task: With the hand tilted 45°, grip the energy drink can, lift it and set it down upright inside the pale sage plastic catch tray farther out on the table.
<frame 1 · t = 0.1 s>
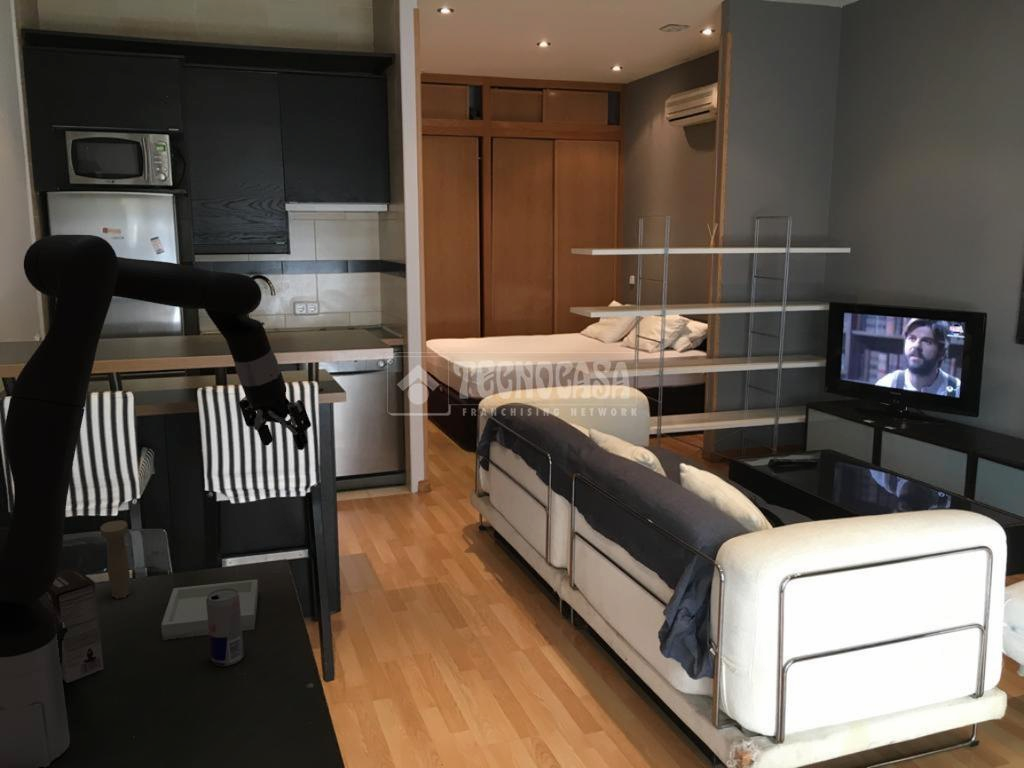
hand: (285, 445, 164), 31 cm above the table, tool tilted 20°, fingers open, 8 cm apart
catch tray: (213, 615, 161), on the table
handle: (121, 596, 170), on the table
coffee box: (76, 668, 143), on the table
energy drink: (227, 660, 145), on the table
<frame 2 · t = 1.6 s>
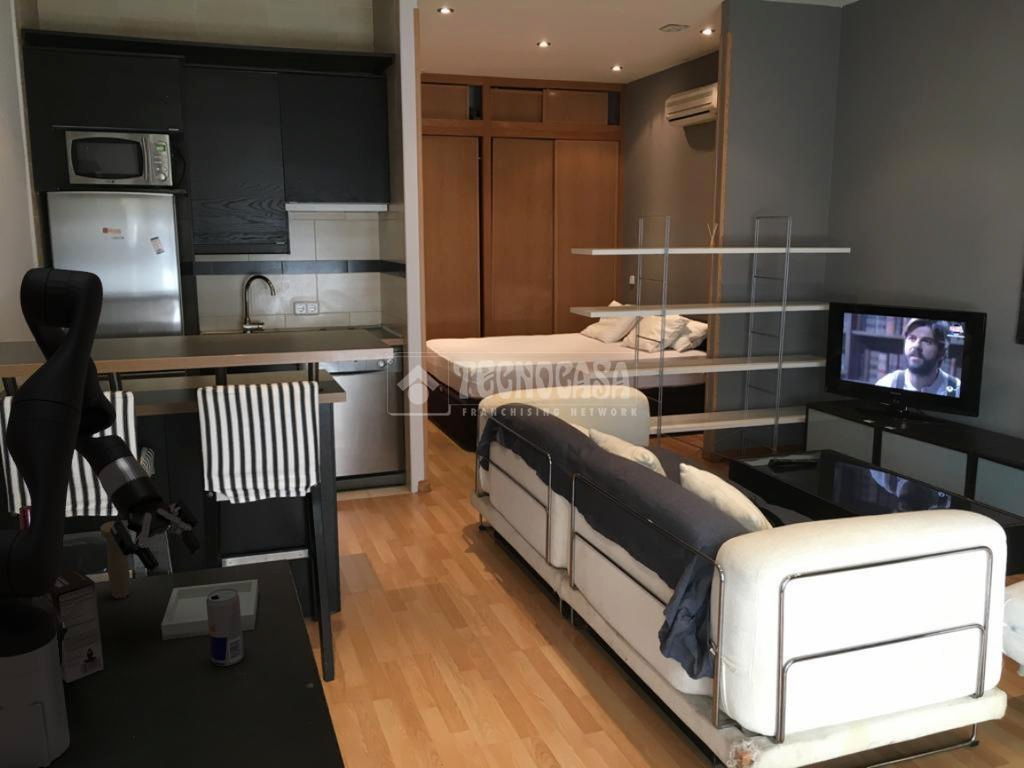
hand: (176, 559, 148), 16 cm above the table, tool tilted 45°, fingers open, 8 cm apart
nothing on the table moved.
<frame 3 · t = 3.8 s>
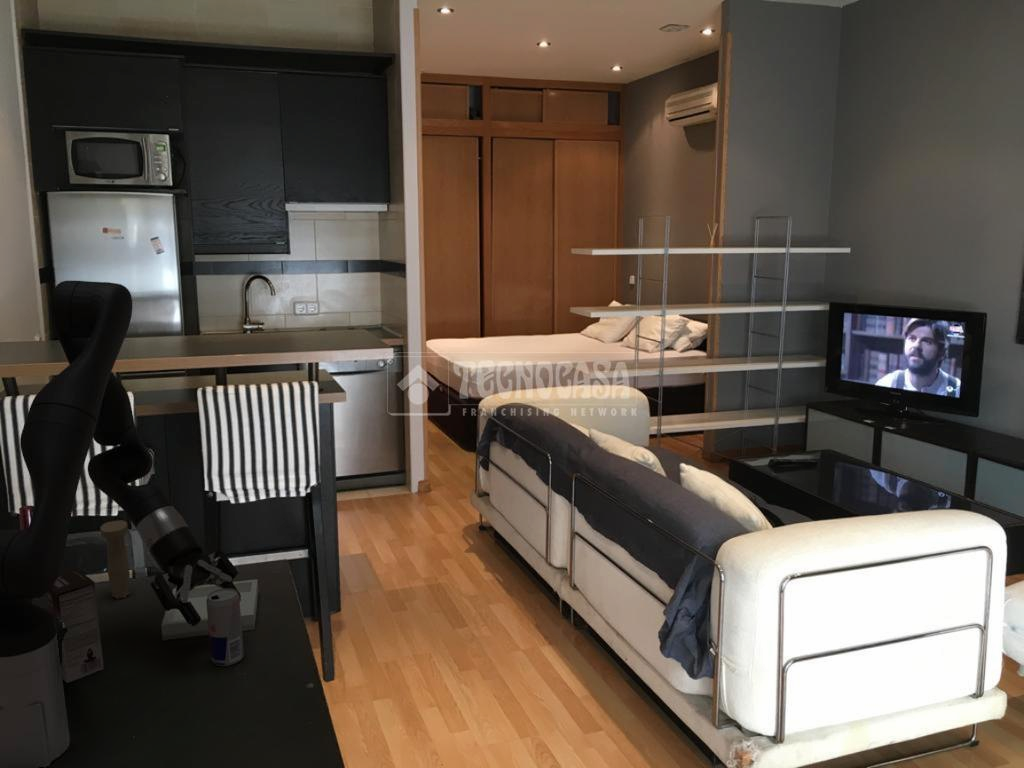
hand: (218, 613, 145), 8 cm above the table, tool tilted 45°, fingers open, 8 cm apart
nothing on the table moved.
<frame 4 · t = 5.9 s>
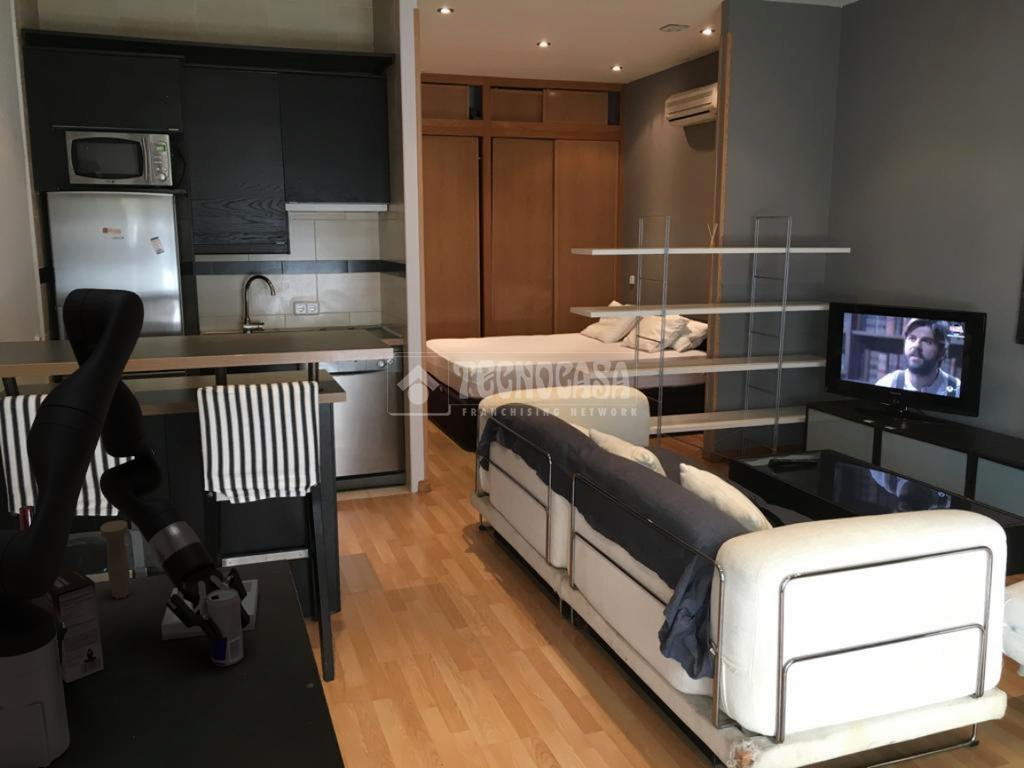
hand: (232, 632, 143), 5 cm above the table, tool tilted 45°, fingers closed on energy drink, 5 cm apart
energy drink: (227, 660, 145), on the table, touching gripper
everything else where it was.
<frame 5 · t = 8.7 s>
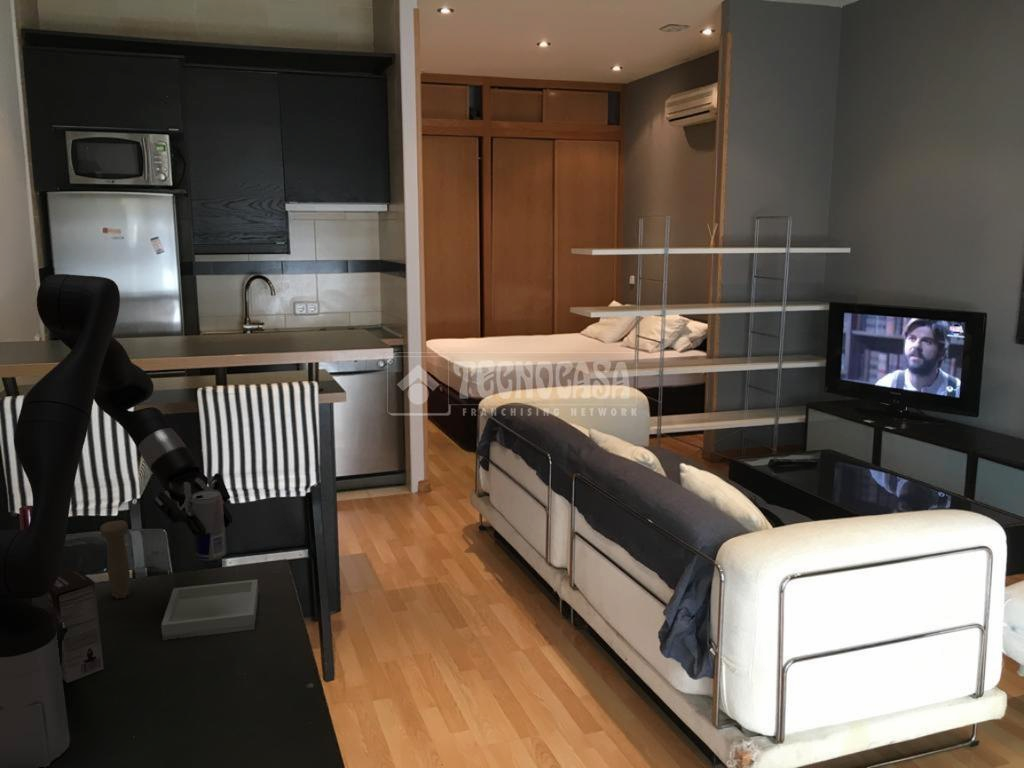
hand: (215, 529, 154), 19 cm above the table, tool tilted 45°, fingers closed on energy drink, 5 cm apart
energy drink: (211, 556, 157), point 13 cm above the table, touching gripper
everything else where it was.
when the fingers open (8 cm above the table, at t = 11.8 s): energy drink drops 1 cm, resting on catch tray.
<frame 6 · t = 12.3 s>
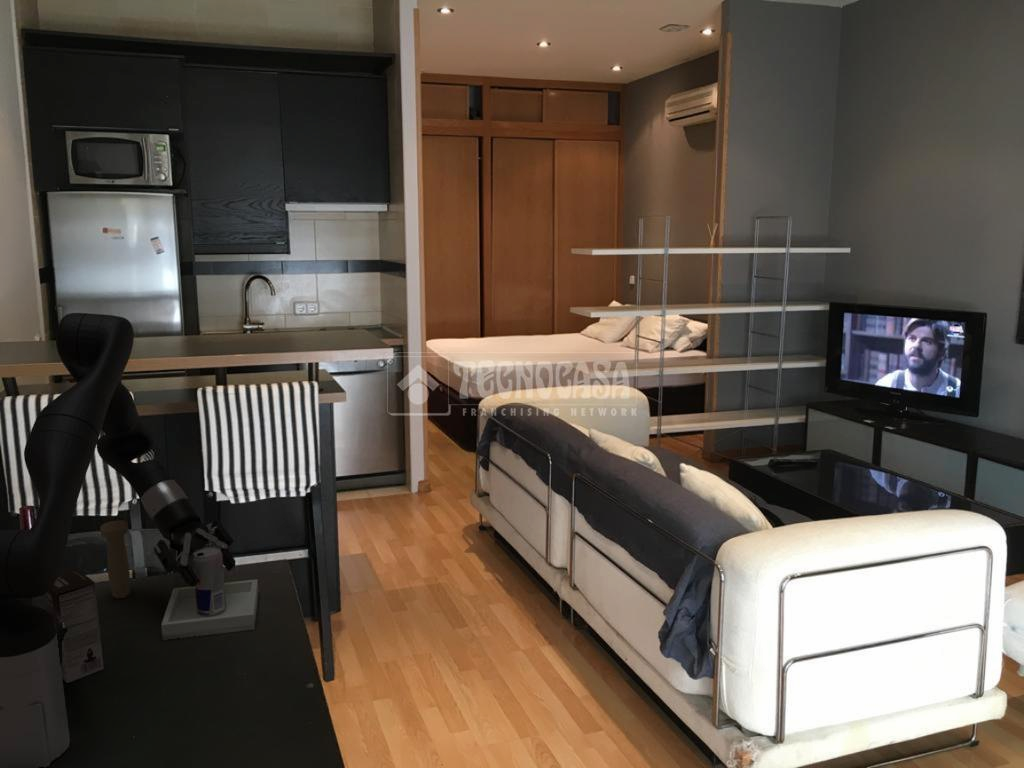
hand: (214, 576, 159), 8 cm above the table, tool tilted 45°, fingers open, 8 cm apart
energy drink: (212, 611, 161), point 1 cm above the table, touching catch tray
everything else where it was.
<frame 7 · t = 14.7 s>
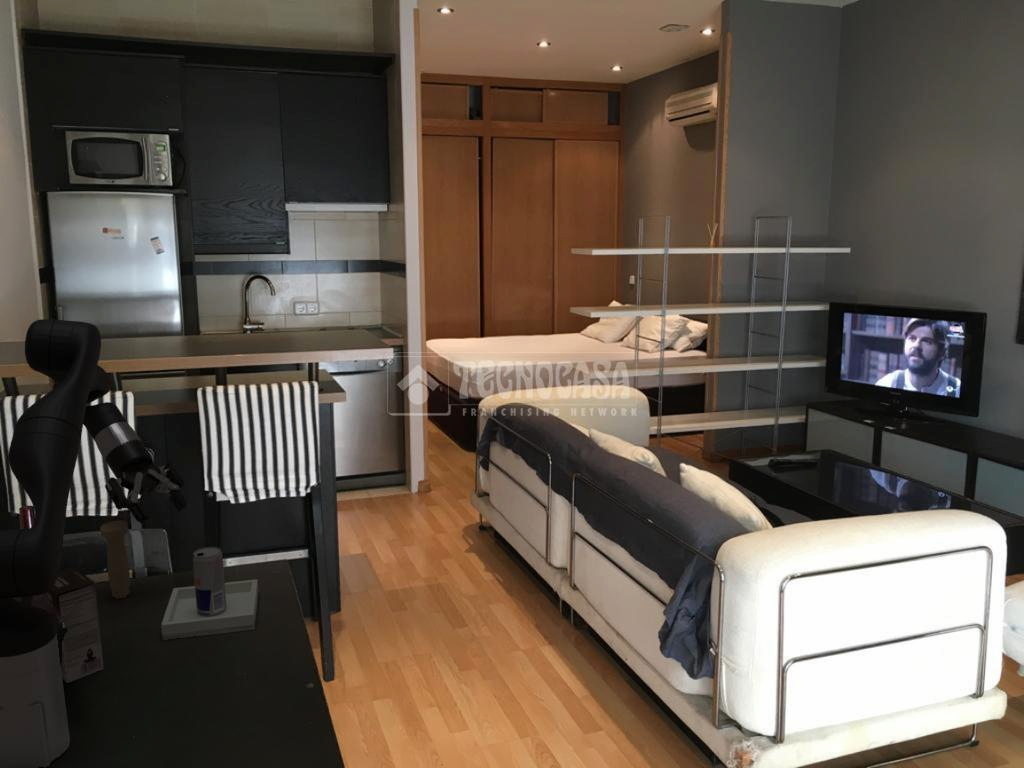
hand: (164, 514, 164), 18 cm above the table, tool tilted 45°, fingers open, 8 cm apart
nothing on the table moved.
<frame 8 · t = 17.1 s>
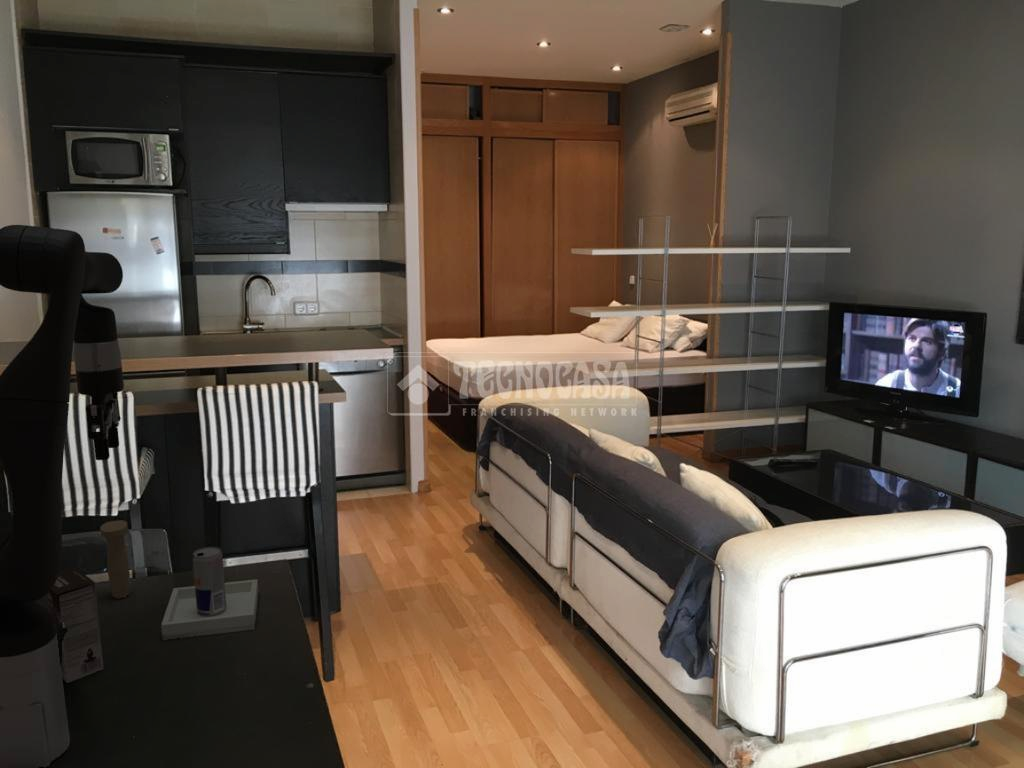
hand: (107, 453, 153), 33 cm above the table, tool pointing down, fingers open, 8 cm apart
nothing on the table moved.
at the end: energy drink inside the target area on the catch tray (0.2 cm from its centre), point 0.8 cm above the catch tray's base; energy drink tilted 0°; the gripper is holding nothing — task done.
